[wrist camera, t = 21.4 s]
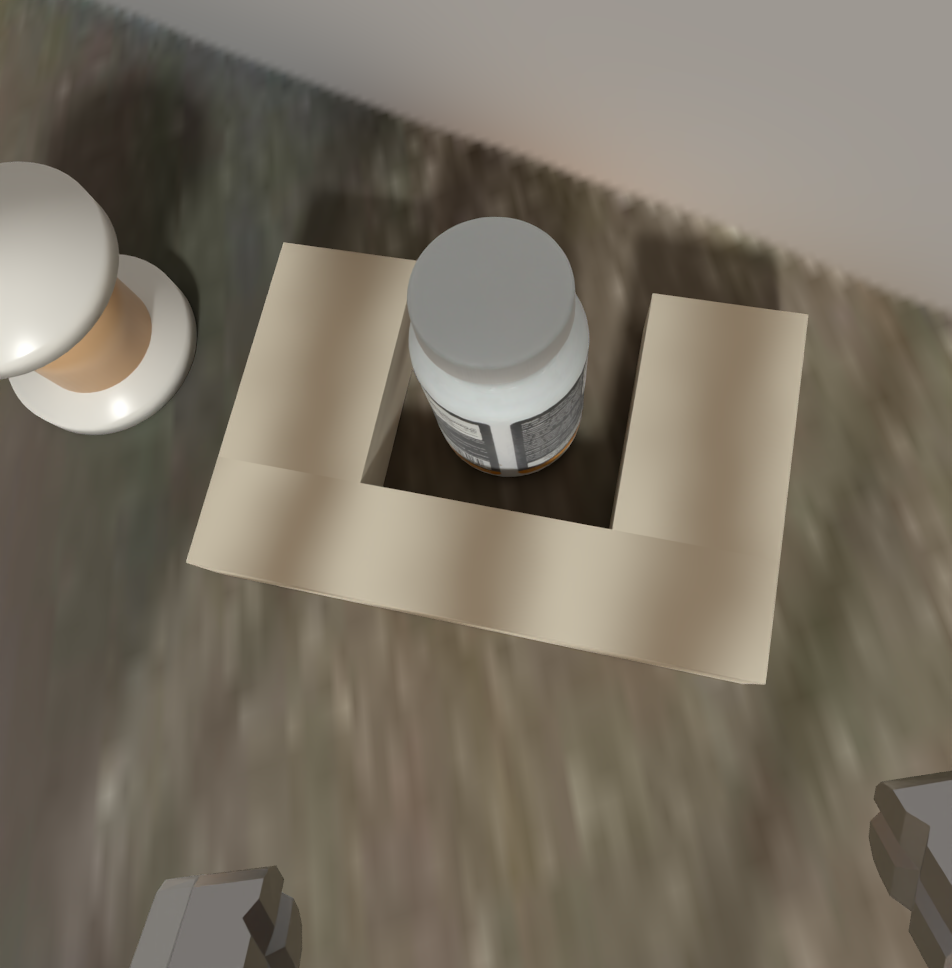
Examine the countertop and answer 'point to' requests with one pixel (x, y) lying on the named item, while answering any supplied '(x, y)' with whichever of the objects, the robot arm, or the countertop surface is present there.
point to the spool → (83, 310)
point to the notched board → (502, 533)
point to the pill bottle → (499, 343)
